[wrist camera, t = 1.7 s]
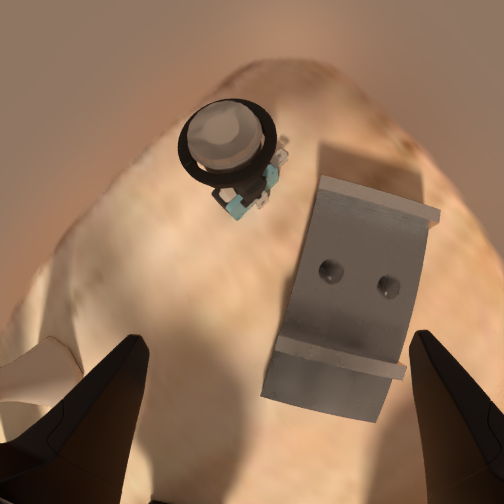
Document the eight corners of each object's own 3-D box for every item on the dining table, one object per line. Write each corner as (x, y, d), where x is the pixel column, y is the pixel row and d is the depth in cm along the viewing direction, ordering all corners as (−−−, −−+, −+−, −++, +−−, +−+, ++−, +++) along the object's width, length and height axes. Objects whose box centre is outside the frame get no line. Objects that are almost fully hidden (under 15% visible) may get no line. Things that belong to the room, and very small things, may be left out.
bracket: (372, 417, 20) (382, 433, 17) (262, 391, 22) (256, 404, 19) (424, 220, 22) (440, 209, 19) (318, 190, 24) (321, 174, 20)
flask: (50, 322, 26) (-28, 324, 16) (94, 374, 24) (15, 396, 14) (28, 370, 25) (-41, 381, 15) (68, 420, 24) (0, 447, 14)
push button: (263, 140, 25) (242, 61, 15) (310, 181, 24) (315, 109, 14) (204, 195, 25) (152, 137, 15) (249, 240, 24) (216, 199, 14)
